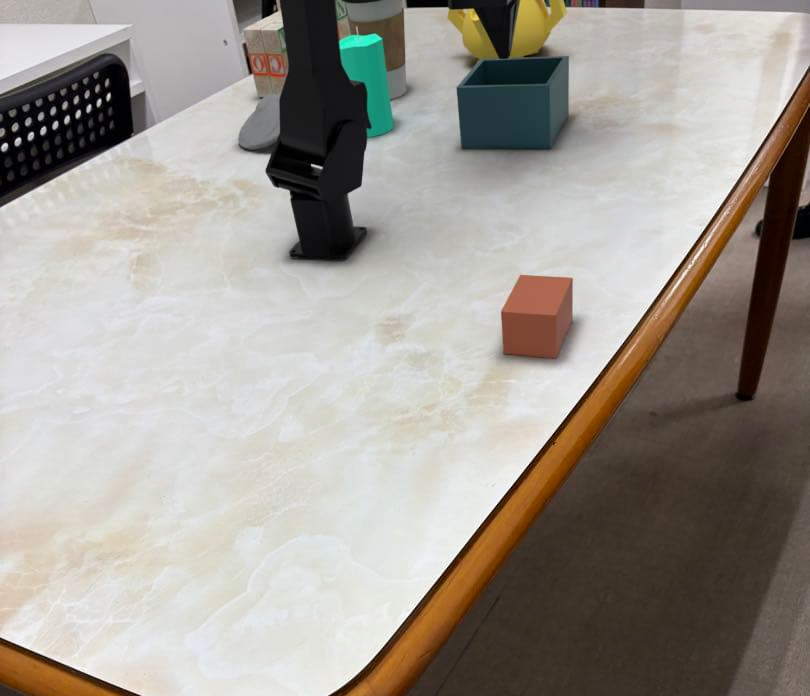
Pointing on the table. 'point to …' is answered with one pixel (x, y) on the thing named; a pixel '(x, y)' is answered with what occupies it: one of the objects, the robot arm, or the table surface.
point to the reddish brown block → (537, 316)
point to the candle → (369, 77)
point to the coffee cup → (383, 35)
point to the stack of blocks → (278, 49)
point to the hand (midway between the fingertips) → (504, 57)
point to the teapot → (527, 34)
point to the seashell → (262, 124)
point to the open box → (514, 103)
